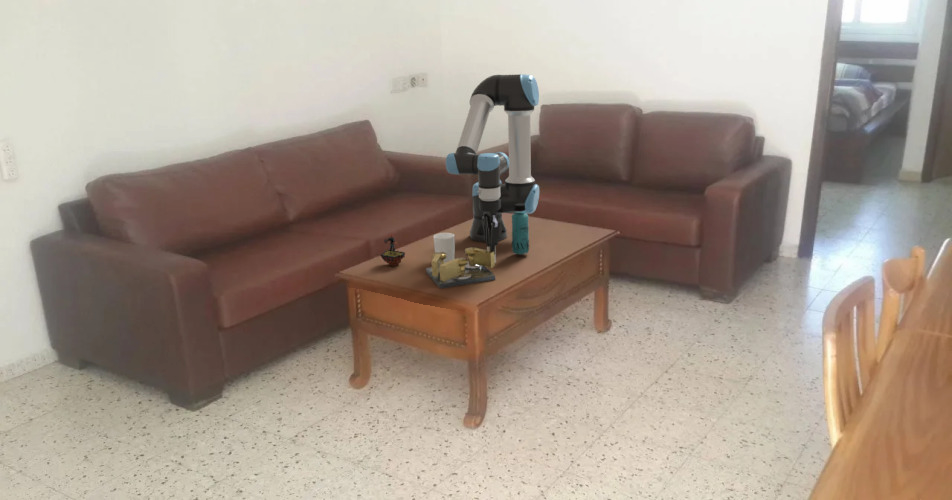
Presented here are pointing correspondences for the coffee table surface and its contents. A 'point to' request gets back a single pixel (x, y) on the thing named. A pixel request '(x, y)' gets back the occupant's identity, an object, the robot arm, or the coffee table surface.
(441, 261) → the foot screw
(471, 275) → the plate
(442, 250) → the white cup
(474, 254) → the foot screw
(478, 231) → the robot arm
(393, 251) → the figurine
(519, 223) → the beverage bottle
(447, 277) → the foot screw
